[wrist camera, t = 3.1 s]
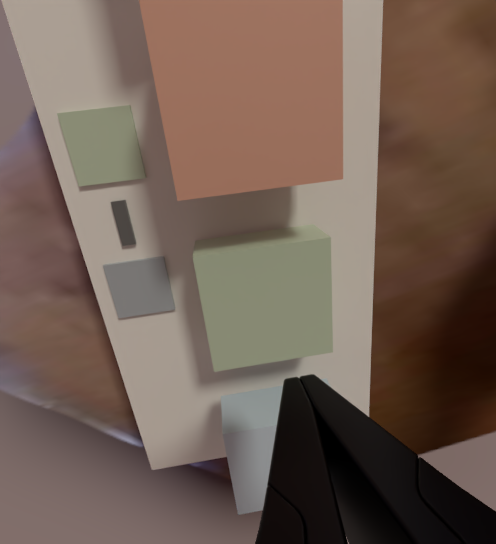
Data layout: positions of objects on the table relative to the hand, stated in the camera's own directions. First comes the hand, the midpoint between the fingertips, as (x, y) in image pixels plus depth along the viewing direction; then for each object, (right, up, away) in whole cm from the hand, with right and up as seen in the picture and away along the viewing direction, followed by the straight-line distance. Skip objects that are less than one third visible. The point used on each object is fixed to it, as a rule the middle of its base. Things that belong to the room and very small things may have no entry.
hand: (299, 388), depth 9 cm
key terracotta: (-1, +9, +3) cm, 10 cm away
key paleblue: (0, -5, +9) cm, 10 cm away
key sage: (-1, +3, +7) cm, 8 cm away
